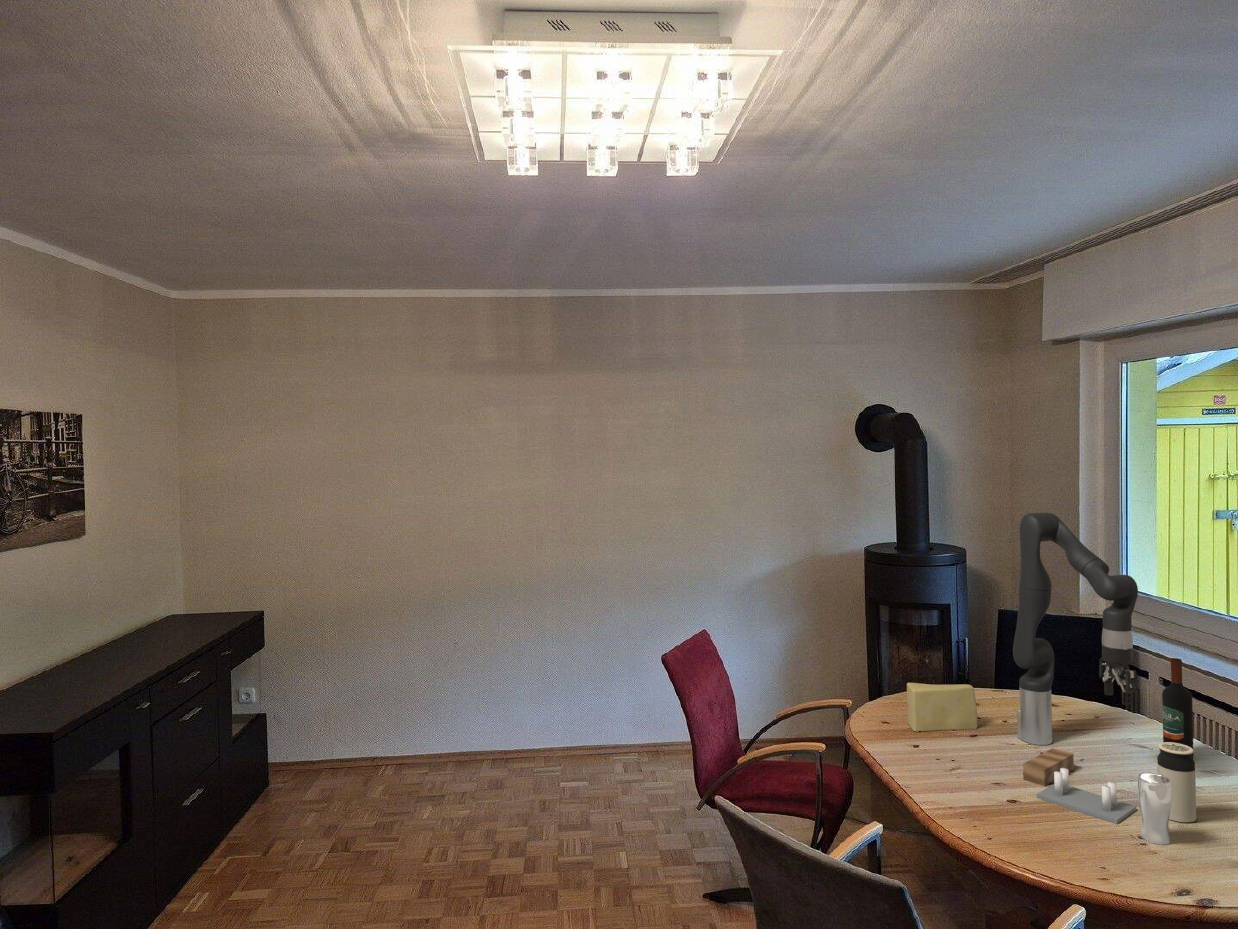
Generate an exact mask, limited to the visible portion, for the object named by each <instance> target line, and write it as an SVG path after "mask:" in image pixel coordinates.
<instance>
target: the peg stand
mask: <svg viewBox="0 0 1238 929" xmlns="http://www.w3.org/2000/svg"><path fill="white" fill-rule="evenodd" d="M1069 773H1070V772H1069V770H1068V769H1066V768H1060V772H1058V771H1055V772H1054V781H1053V782H1054V783H1053V784H1051V785H1049V786H1048V787H1046V788H1044V789H1043V790H1041V791H1039V792H1037V793H1036V798H1037V799H1039V800H1042V801H1045V802H1049V803H1051V804H1054V805H1058V806H1061V807H1064V808H1066V809H1070V810H1072V811H1075V812H1079V813H1082V814H1085V815H1088V816H1091V817H1094V818H1097V819H1101V820H1103V821H1106V822H1110V823H1112V824H1115V825H1118V824H1119V823H1120V822H1121V821H1123V820H1125V819H1126V818H1127V817H1129V816H1130V815H1131V814H1133V813H1135V811H1136V810H1137V805H1134V804H1130V803H1128V802H1127V803H1126V802H1124V801H1120V800H1118V798H1117V796H1118V795H1117V794H1118V792H1117V789H1118V788H1117V782H1114V781H1107V785H1101V795H1100V794H1097V793H1095V792H1090V791H1087V790H1084V789H1081V788H1078V787H1074V786H1071V785H1069V784H1070V777H1069V775H1070V774H1069Z"/></svg>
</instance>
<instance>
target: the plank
mask: <svg viewBox="0 0 1238 929" xmlns="http://www.w3.org/2000/svg"><path fill="white" fill-rule="evenodd" d="M1074 760H1075V757H1074V753H1073V752H1068V751H1065V750H1061V749H1057V748H1054V747H1052V748H1050V749H1049V750H1046V751H1044V752H1042V753H1040V754H1039V755H1037V756H1035V757H1033V758H1031V759H1029V760H1027V761H1025V762H1024V763H1022V770H1023V771H1022V774H1023V776H1022V778H1023V781H1027V782H1030V783H1033V784H1036V785H1040V786H1043V787H1046V786H1048V785H1049V784H1052V783H1053V782H1054V772H1055V771H1058V772H1060V768H1066V769H1068V770H1069V773H1071V772H1072V771H1073V770H1074V769H1075V761H1074Z"/></svg>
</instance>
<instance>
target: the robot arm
mask: <svg viewBox="0 0 1238 929" xmlns="http://www.w3.org/2000/svg"><path fill="white" fill-rule="evenodd" d="M1042 542H1053V543H1054V544H1056V545H1058V546H1059V547H1061V548H1062V550H1063V551H1064V553H1065V556H1066V560H1067V561H1068V563H1069V564H1070V566H1071V567H1072V568H1073V569H1074V570H1075V571H1077V573H1079V574H1080V575H1082V577H1084V579H1086V580H1087V581H1088V583H1089V585H1090V586H1091V588H1092V589H1093V591H1094V593H1096V595H1097V596H1098V597H1099V598H1102V599H1104V600H1105V601H1109V602H1110V601H1111V602H1112V604H1111V605H1110V606H1108V607H1106V608H1105V609H1103V610H1102V631H1101V633H1102V634H1101V657H1100V658H1099V663H1098V664H1099V665H1098V676H1099V678H1100V679H1102V682H1103V683H1104V687H1103V689H1104V690H1103V691H1104V692H1103V693H1104V695H1105V696H1114V680H1115V681H1116V682H1117V685H1118V686H1120V688H1121V690H1122V691H1121V704H1122V705H1123V706H1131V705H1132V693H1138V676H1137V671H1136V670H1130V667H1129V664H1131V663H1133V661H1134V648H1133V647H1134V638H1133V632H1132V630H1133V629H1132V620H1133V619H1132V616H1133V612H1134V609H1135V606H1136V603H1137V599H1138V596H1139V587H1138V584H1137V582H1136V580H1135V579H1134V578H1133V577H1132V576H1131V575H1128V574H1117V575H1109V572H1110V566H1109V565H1108V564H1107V563H1106V562H1105V561H1104V560H1103V559H1102V558H1100V557H1099V556H1098V555H1096V554H1095V553H1093V551H1091V550H1090V549H1089V548H1088V547H1087V546H1085V544H1084V543H1082V542H1081V541H1080V539H1079V538H1078V537H1077V536H1076V535H1075V534H1074V532H1072V531H1071V529H1069V527H1068V526H1067V525H1066V524H1065V522H1063V521H1062V520H1061V518H1060V517H1059V516H1057V515H1056V514H1054V513H1052V512H1034V513H1031V512H1030V513H1026V514H1024V515H1023V516H1022V518H1021V520H1020V524H1019V545H1020V546H1019V548H1020V575H1019V585H1018V605H1017V606H1018V607H1017V608H1018V609H1017V619H1016V628H1015V633H1014V639H1013V644H1012V645H1013V646H1012V656H1013V660H1014V662H1015V664H1016V665H1017V666H1018V667H1019V668H1021V669H1023V670H1028V671H1027V672H1026V673H1025V674H1023V675H1022V676H1020V678H1019V680H1018V681H1019V682H1018V683H1019V708H1018V709H1017V714H1016V715H1017V739H1018V740H1021V741H1024V742H1025V743H1029V744H1032V745H1036V746H1037V745H1038V746H1046V745H1051V744H1053V714H1052V713H1053V712H1052V711H1053V710H1052V709H1053V708H1052V702H1053V701H1052V684H1053V682H1054V678H1055V677H1054V676H1055V675H1054V674H1055V653H1054V649H1053V646H1052V645H1051V643H1050V642H1049V641H1048V640H1046V639H1045V638H1040V637H1037V638H1036V634H1037V629H1038V626H1039V625H1040V622H1041V621H1042V619H1043V617H1045V615H1046V613H1047V611H1048V609H1049V607H1050V605H1051V602H1052V580H1051V577H1050V575H1049V573H1048V571H1047V570H1046V568H1045V565H1044V564H1043V562H1042V557H1041V543H1042Z"/></svg>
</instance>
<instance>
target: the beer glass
mask: <svg viewBox="0 0 1238 929" xmlns="http://www.w3.org/2000/svg"><path fill="white" fill-rule="evenodd" d="M1137 777H1138V779H1137V799H1138V800H1137V801H1138V806H1139V810H1140V814H1141V820H1142V821H1141V822H1142V825H1141V830H1140V837H1141V838H1142V839H1143V840H1145V841H1147V842H1148V843H1151V844H1154V845H1161V846H1166V845H1169V844H1171V842H1172V841H1171V834H1170V831H1169V824H1170V819H1169V818H1170V813H1171V807H1172V791H1171V781H1170V779H1169V778H1167V777H1165V776H1163V775H1159V774H1158V773H1153V772H1141V773H1139V774H1138V775H1137Z"/></svg>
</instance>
